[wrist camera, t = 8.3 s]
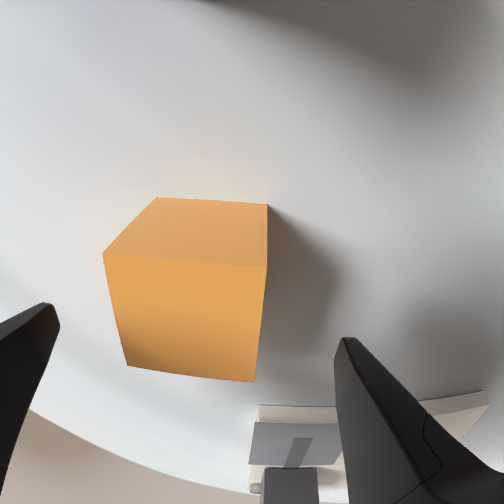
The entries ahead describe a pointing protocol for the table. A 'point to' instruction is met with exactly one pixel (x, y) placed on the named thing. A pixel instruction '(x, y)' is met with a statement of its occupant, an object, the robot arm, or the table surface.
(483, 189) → the table surface
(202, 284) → the cap
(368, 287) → the table surface
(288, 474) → the block
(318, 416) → the board
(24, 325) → the robot arm
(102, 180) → the table surface
